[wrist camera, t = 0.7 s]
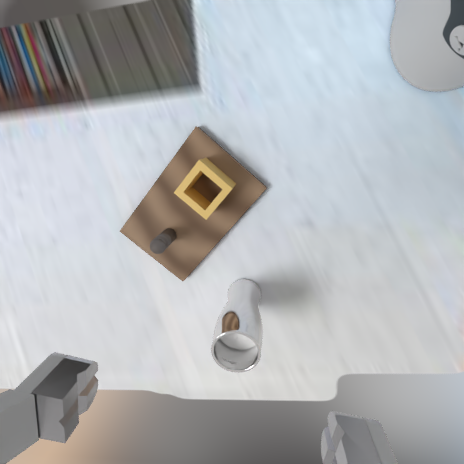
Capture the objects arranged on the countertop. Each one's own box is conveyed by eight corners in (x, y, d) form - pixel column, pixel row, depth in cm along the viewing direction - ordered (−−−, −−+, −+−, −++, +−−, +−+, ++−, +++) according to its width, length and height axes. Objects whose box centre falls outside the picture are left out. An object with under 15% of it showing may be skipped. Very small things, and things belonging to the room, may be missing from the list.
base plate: (198, 127, 43) (183, 123, 35) (266, 186, 44) (266, 196, 37) (123, 228, 49) (97, 244, 42) (185, 277, 51) (170, 301, 43)
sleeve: (206, 157, 43) (199, 159, 38) (236, 183, 43) (232, 188, 38) (183, 187, 44) (173, 192, 40) (212, 211, 45) (206, 219, 40)
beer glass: (238, 269, 49) (227, 320, 35) (271, 290, 50) (273, 349, 36) (218, 297, 51) (199, 356, 37) (249, 316, 52) (243, 382, 38)
